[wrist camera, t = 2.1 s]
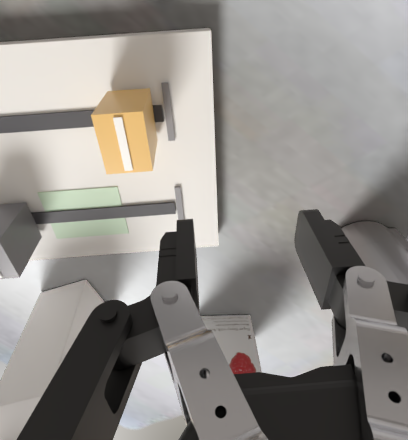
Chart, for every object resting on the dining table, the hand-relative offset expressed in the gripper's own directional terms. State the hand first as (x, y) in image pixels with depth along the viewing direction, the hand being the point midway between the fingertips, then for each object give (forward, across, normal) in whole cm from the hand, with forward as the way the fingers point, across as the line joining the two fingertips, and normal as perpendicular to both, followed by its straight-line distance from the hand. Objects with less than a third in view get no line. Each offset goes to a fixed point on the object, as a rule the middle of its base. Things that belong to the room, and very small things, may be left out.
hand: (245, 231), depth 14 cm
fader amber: (+17, +7, 0) cm, 18 cm away
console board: (+19, +14, +5) cm, 24 cm away
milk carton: (+20, +20, +26) cm, 38 cm away
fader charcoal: (+17, +21, +10) cm, 29 cm away
